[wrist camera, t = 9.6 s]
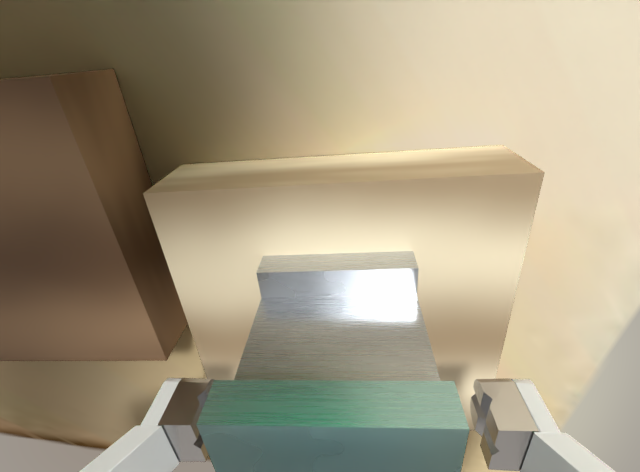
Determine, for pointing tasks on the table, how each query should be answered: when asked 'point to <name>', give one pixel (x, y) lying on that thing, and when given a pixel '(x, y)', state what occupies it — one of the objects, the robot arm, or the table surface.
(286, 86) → the table surface
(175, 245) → the stand
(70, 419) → the table surface
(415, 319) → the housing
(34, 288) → the stand
